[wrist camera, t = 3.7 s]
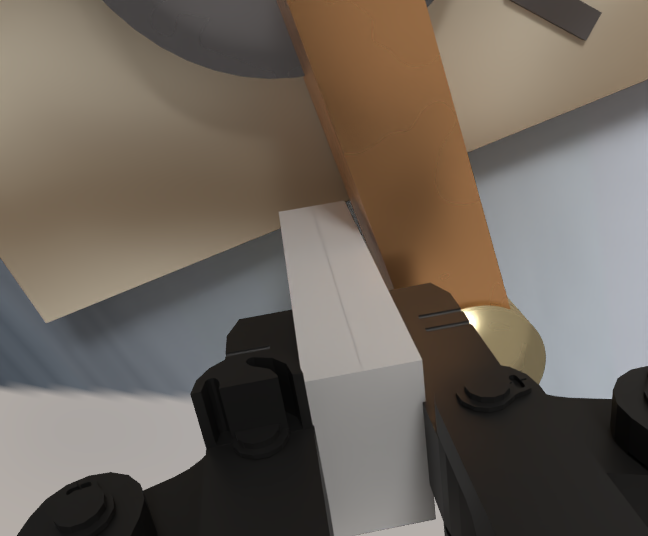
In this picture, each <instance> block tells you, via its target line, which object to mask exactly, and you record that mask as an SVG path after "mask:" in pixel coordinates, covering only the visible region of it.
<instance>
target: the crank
mask: <svg viewBox="0 0 648 536" xmlns="http://www.w3.org/2000/svg"><path fill="white" fill-rule="evenodd" d="M103 1H104V2H105V4H106V5H107V6H108V7H109V8H110V9H111V10H113V11H114V12H115V13H116V14H117V15H118V16H119V17H121V18H122V19H123V20H124V21H125V22H126V23H128V24H129V25H130V26H131V27H132V28H133V29H135V30H136V31H138V32H139V33H141V34H142V35H143V36H145V37H146V38H148V39H149V40H151V41H152V42H154V43H155V44H157V45H158V46H160V47H161V48H163V49H165V50H167V51H169V52H171V53H173V54H175V55H177V56H179V57H181V58H183V59H185V60H187V61H189V62H192V63H195V64H198V65H201V66H203V67H206V68H209V69H212V70H214V71H219V72H223V73H228V74H232V75H237V76H242V77H252V78H264V79H279V78H297V77H302V76H303V79H304V81H305V84H306V86H307V89H308V92H309V94H310V97H311V100H312V102H313V105H314V107H315V110H316V113H317V115H318V118H319V120H320V123H321V126H322V128H323V131H324V134H325V136H326V139H327V141H328V144H329V147H330V149H331V152H332V155H333V157H334V160H335V162H336V165H337V168H338V170H339V173H340V175H341V178H342V181H343V183H344V186H345V189H346V191H347V194H348V196H349V199H350V202H351V204H352V207H353V209H354V212H355V215H356V217H357V220H358V223H359V225H360V228H361V230H362V233H363V236H364V238H365V241H366V243H367V246H368V249H369V251H370V254H371V256H372V258H373V260H374V262H375V264H376V266H377V268H378V270H379V272H380V275H381V277H382V279H383V281H384V283H385V285H386V287H387V289H388V290H392V289H398V288H403V287H409V286H414V285H420V284H425V283H432V284H434V285H436V286H438V287H440V288H442V289H443V290H445V291H447V292H449V293H451V295H452V296H453V298H454V299H455V301H456V302H457V303H458V305H459V306H460V308H461V311H463V312H464V313H465V315H466V316H467V318H468V319H469V321H470V324H471V323H472V325H473V326H474V328H475V329H476V330H477V332H478V333H479V335H480V336H481V338H482V339H483V340H484V342H485V343H486V345H487V346H488V348H489V349H490V350H491V352H492V353H493V355H494V356H495V358H496V359H497V360H498V362H499V363H500V365H502V366H509V367H511V368H514V369H516V370H518V371H521V372H523V373H526V374H527V375H528V376H529V377H531V378H532V379H533V380H534V381H535V382H536V383H538V384H539V383H540V381H541V378H542V376H543V372H544V369H545V362H546V353H545V347H544V344H543V341H542V339H541V337H540V335H539V333H538V332H537V331H536V329H535V328H534V327H533V326H532V325H531V323H530V322H529V321H528V320H527V319H526V318H525V317H524V315H523V314H522V313H521V312H520V311H519V310H518V309H517V308H516V306H515V305H514V304H513V303H512V302H511V301H510V300H509V299H508V297H507V295H506V291H505V288H504V284H503V280H502V277H501V273H500V269H499V266H498V262H497V259H496V255H495V251H494V248H493V244H492V241H491V237H490V233H489V230H488V226H487V222H486V219H485V215H484V212H483V208H482V204H481V201H480V197H479V194H478V190H477V186H476V183H475V179H474V175H473V172H472V168H471V165H470V161H469V157H468V154H467V150H466V147H465V143H464V139H463V136H462V132H461V128H460V125H459V121H458V118H457V114H456V110H455V107H454V103H453V100H452V96H451V92H450V89H449V85H448V81H447V78H446V74H445V71H444V67H443V63H442V60H441V56H440V53H439V49H438V45H437V42H436V38H435V34H434V31H433V27H432V24H431V20H430V16H429V13H428V9H427V7H428V6H429V5H430V4H431V3H432V2H433V1H434V0H103Z"/></svg>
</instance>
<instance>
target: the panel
mask: <svg viewBox="0 0 648 536" xmlns="http://www.w3.org/2000/svg"><path fill="white" fill-rule="evenodd" d="M427 9H428V13H429V16H430V20H431V24H432V27H433V31H434V34H435V38H436V42H437V45H438V49H439V53H440V56H441V60H442V63H443V67H444V71H445V74H446V78H447V81H448V85H449V89H450V92H451V96H452V100H453V103H454V107H455V110H456V114H457V118H458V121H459V125H460V128H461V132H462V136H463V139H464V143H465V147H466V150H467V152H470V151H472V150H475V149H477V148H480V147H482V146H485V145H487V144H490V143H492V142H495V141H497V140H500V139H502V138H504V137H507V136H509V135H512V134H514V133H517V132H519V131H522V130H524V129H527V128H529V127H532V126H534V125H537V124H539V123H541V122H544V121H546V120H549V119H551V118H554V117H556V116H559V115H561V114H564V113H566V112H569V111H571V110H573V109H576V108H578V107H581V106H583V105H586V104H588V103H591V102H593V101H596V100H598V99H601V98H603V97H606V96H608V95H610V94H613V93H615V92H618V91H620V90H623V89H625V88H628V87H630V86H633V85H635V84H638V83H640V82H643V81H645V80H647V79H648V0H434V1H433V2H432V3H431V4H430V5H429V6H428V7H427ZM349 200H350V199H349V196H348V194H347V191H346V189H345V186H344V183H343V181H342V178H341V175H340V173H339V170H338V168H337V165H336V162H335V160H334V157H333V155H332V152H331V149H330V147H329V144H328V141H327V139H326V136H325V134H324V131H323V128H322V126H321V123H320V120H319V118H318V115H317V113H316V110H315V107H314V105H313V102H312V100H311V97H310V94H309V92H308V89H307V86H306V84H305V81H304V79H303V76H302V77H297V78H279V79H264V78H252V77H242V76H237V75H232V74H228V73H223V72H219V71H214V70H212V69H209V68H206V67H203V66H201V65H198V64H195V63H192V62H189V61H187V60H185V59H183V58H181V57H179V56H177V55H175V54H173V53H171V52H169V51H167V50H165V49H163V48H161V47H160V46H158V45H157V44H155V43H154V42H152V41H151V40H149V39H148V38H146V37H145V36H143V35H142V34H141V33H139V32H138V31H136V30H135V29H133V28H132V27H131V26H130V25H129V24H128V23H126V22H125V21H124V20H123V19H122V18H121V17H119V16H118V15H117V14H116V13H115V12H114V11H113V10H111V9H110V8H109V7H108V6H107V5H106V4H105V2H104V1H103V0H0V258H1V259H2V261H3V262H4V264H5V265H6V266H7V268H8V269H9V271H10V272H11V274H12V275H13V277H14V278H15V279H16V281H17V282H18V284H19V285H20V287H21V288H22V289H23V291H24V292H25V294H26V295H27V297H28V298H29V299H30V301H31V302H32V304H33V305H34V307H35V308H36V309H37V311H38V312H39V314H40V315H41V317H42V318H43V320H44V321H45V322H46V323H48V322H51V321H53V320H56V319H58V318H61V317H63V316H66V315H68V314H70V313H73V312H75V311H78V310H80V309H83V308H85V307H88V306H90V305H93V304H95V303H98V302H100V301H103V300H105V299H107V298H110V297H112V296H115V295H117V294H120V293H122V292H125V291H127V290H130V289H132V288H135V287H137V286H140V285H142V284H144V283H147V282H149V281H152V280H154V279H157V278H159V277H162V276H164V275H167V274H169V273H172V272H174V271H176V270H179V269H181V268H184V267H186V266H189V265H191V264H194V263H196V262H199V261H201V260H204V259H206V258H209V257H211V256H213V255H216V254H218V253H221V252H223V251H226V250H228V249H231V248H233V247H236V246H238V245H241V244H243V243H246V242H248V241H250V240H253V239H255V238H258V237H260V236H263V235H265V234H268V233H270V232H273V231H275V230H278V229H280V228H281V226H280V218H279V212H281V211H287V210H292V209H298V208H304V207H310V206H315V205H321V204H327V203H333V202H338V201H345V202H347V201H349Z"/></svg>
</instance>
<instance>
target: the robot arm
mask: <svg viewBox="0 0 648 536" xmlns="http://www.w3.org/2000/svg"><path fill="white" fill-rule="evenodd" d="M279 218H280V226H281V233H282V240H283V247H284V254H285V261H286V268H287V276H288V283H289V290H290V297H291V304H292V310H288V311H282V312H277V313H271V314H266V315H260V316H255V317H249V318H244V319H239V320H238V322H237V323H236V325H235V326H234V327H233V329H232V330H231V331H230V333H229V334H228V335H227V342H226V357H225V360H224V361H222V362H220V363H218V364H216V365H214V366H213V367H211V368H209V369H208V370H207V371H206V372H205V373H204V374H203V375H202V376H201V377H200V378H198V379H197V380H196V383H195V385H194V387H193V389H192V391H191V398H192V401H193V405H194V408H195V411H196V414H197V418H198V422H199V425H200V428H201V432H202V435H203V439H204V442H205V445H206V455H205V456H204V457H203V458H202V460H200V461H199V462H198V463H196V464H195V465H194V466H192V467H191V468H190V469H188V470H186V471H185V472H183V473H181V474H179V475H177V476H175V477H173V478H171V479H169V480H166V481H164V482H162V483H160V484H157V485H155V486H153V487H151V488H148V489H146V490H144V491H143V490H142V487H141V485H140V484H139V483H138V482H137V481H135V480H134V479H133V478H131V477H130V476H129V475H124V474H118V473H112V472H110V473H103V474H97V475H91V476H88V477H85V478H83V479H80V480H78V481H76V482H73V483H71V484H68V485H66V486H65V487H63V488H62V489H61V490H59V491H58V492H56V493H55V494H53V495H52V496H50V497H49V498H47V499H46V500H45V501H44V502H43V503H42V504H41V505H40V507H39V508H38V509H37V510H36V511H35V512H34V513H33V514H32V515H31V516H30V518H29V519H28V520H27V522H26V523H25V525H24V526H23V528H22V529H21V530H20V532H19V533H18V535H17V536H354V535H359V534H364V533H369V532H374V531H379V530H384V529H389V528H394V527H399V526H404V525H409V524H414V523H419V522H424V521H429V520H434V519H436V516H435V504H434V497H435V500H436V503H437V505H438V508H439V510H440V513H441V516H442V518H443V521H444V532H445V536H648V366H646V367H641V368H637V369H632V370H630V371H628V372H627V373H625V374H624V375H622V376H621V377H619V378H618V379H617V382H616V384H615V386H614V389H613V396H612V399H587V398H567V397H557V396H551V395H547V394H546V393H545V392H544V391H543V390H542V388H541V387H540V386H539V384H538V383H536V382H535V381H534V380H533V379H532V378H531V377H529V376H528V375H527V374H526V373H523V372H521V371H518V370H516V369H514V368H511V367H509V366H502V365H500V363H499V362H498V360H497V359H496V358H495V356H494V355H493V353H492V352H491V350H490V349H489V348H488V346H487V345H486V343H485V342H484V340H483V339H482V338H481V336H480V335H479V333H478V332H477V330H476V329H475V328H474V326H473V325H472V323H471V324H470V321H469V319H468V318H467V316H466V315H465V313H464V312H463V311H461V308H460V306H459V305H458V303H457V302H456V301H455V299H454V298H453V296H452V295H451V293H449V292H447V291H445V290H443V289H442V288H440V287H438V286H436V285H434V284H432V283H425V284H420V285H414V286H409V287H403V288H398V289H392V290H388V289H387V287H386V285H385V283H384V281H383V279H382V277H381V275H380V272H379V270H378V268H377V266H376V264H375V262H374V260H373V258H372V256H371V254H370V252H369V250H368V248H367V246H366V244H365V242H364V240H363V238H362V236H361V234H360V232H359V230H358V227H357V225H356V223H355V221H354V219H353V217H352V215H351V213H350V211H349V209H348V207H347V205H346V203H345V201H338V202H333V203H327V204H321V205H315V206H310V207H304V208H298V209H292V210H287V211H281V212H279Z"/></svg>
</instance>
